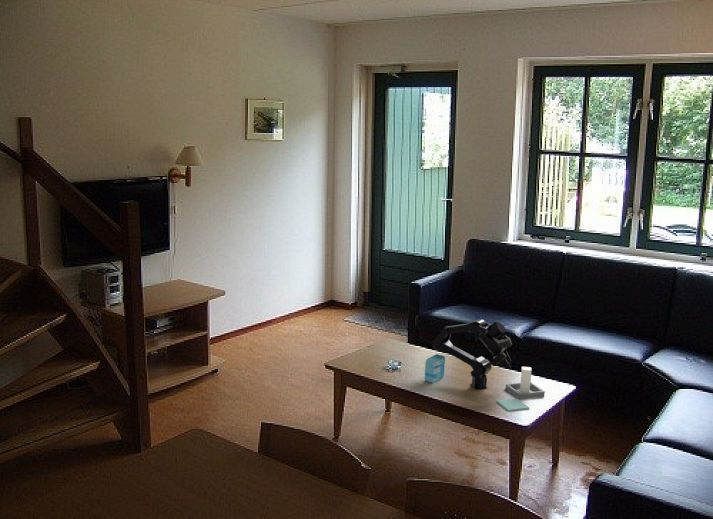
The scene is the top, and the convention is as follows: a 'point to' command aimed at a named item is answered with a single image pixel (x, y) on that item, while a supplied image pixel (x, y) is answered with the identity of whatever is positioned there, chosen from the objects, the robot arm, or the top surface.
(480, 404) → the top surface
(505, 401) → the teal mat
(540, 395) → the gray square frame
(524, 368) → the block
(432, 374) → the light blue upright slab
